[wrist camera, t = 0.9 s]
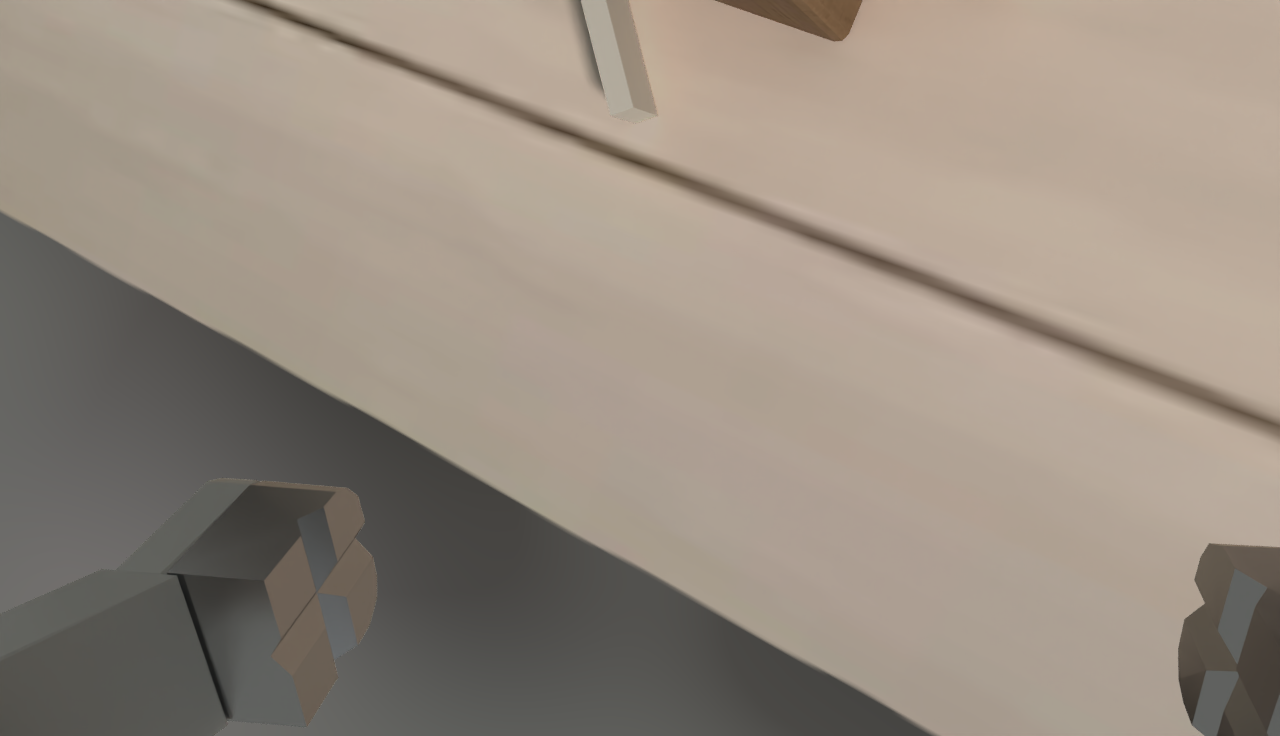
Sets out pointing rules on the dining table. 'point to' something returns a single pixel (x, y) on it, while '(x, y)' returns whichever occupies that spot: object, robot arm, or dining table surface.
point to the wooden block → (806, 14)
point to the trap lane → (619, 59)
